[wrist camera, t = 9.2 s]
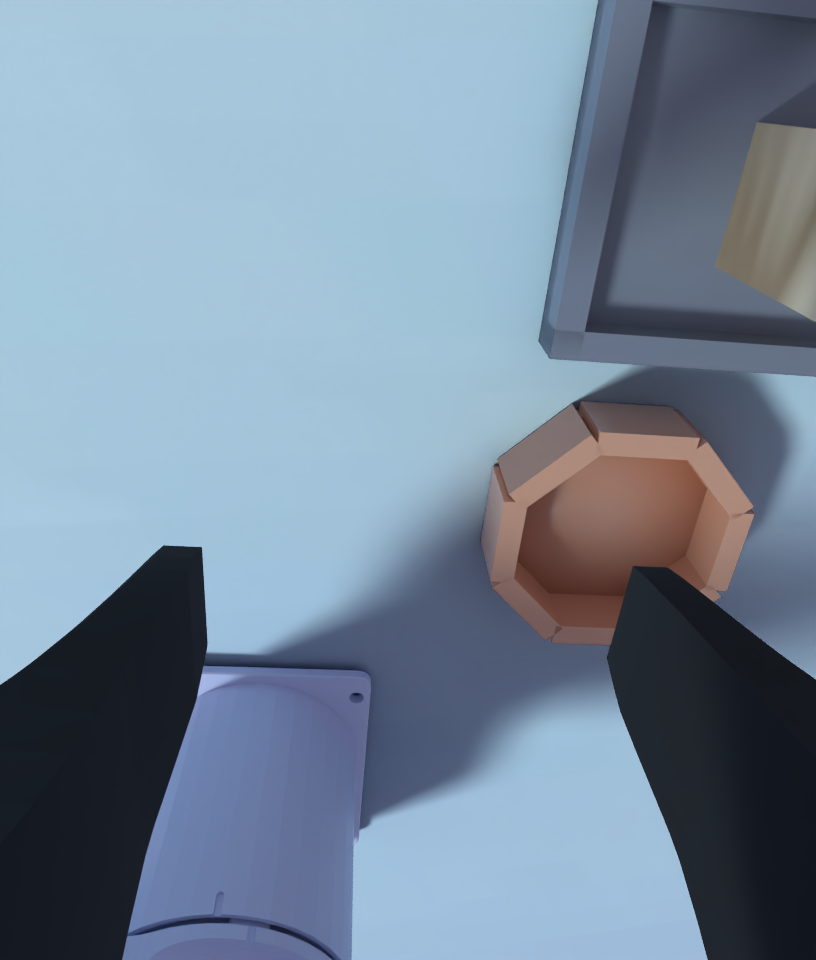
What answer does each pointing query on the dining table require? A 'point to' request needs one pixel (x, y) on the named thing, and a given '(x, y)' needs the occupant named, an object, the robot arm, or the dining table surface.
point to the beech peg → (776, 218)
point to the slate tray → (676, 186)
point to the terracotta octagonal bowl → (608, 516)
